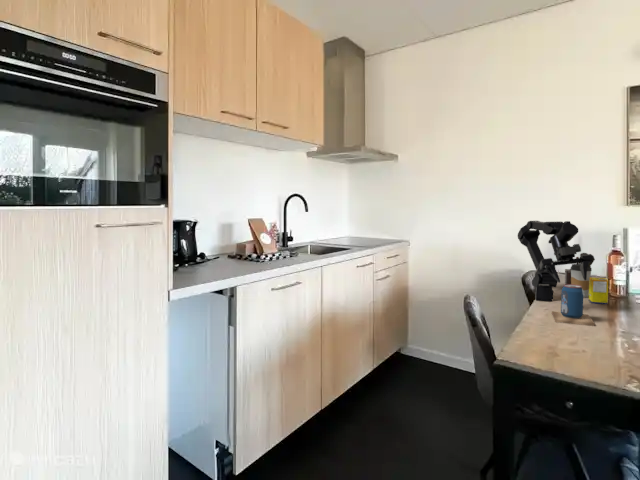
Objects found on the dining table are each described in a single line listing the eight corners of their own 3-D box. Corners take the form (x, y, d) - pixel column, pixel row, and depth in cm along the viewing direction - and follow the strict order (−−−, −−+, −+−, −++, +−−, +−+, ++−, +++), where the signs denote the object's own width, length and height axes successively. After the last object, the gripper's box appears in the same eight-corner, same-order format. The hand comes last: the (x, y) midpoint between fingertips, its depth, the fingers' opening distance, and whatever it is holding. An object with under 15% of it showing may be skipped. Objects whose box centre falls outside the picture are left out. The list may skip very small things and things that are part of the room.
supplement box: (604, 301, 168) (605, 277, 167) (607, 304, 162) (608, 280, 161) (588, 300, 170) (589, 276, 169) (591, 303, 165) (592, 279, 164)
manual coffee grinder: (592, 291, 188) (593, 255, 187) (566, 289, 194) (567, 254, 192) (587, 285, 202) (588, 252, 201) (563, 283, 207) (564, 251, 206)
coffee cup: (595, 298, 174) (596, 266, 173) (576, 298, 174) (578, 266, 173) (582, 294, 182) (584, 263, 181) (565, 294, 182) (566, 263, 181)
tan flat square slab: (555, 321, 140) (555, 319, 139) (551, 313, 150) (551, 311, 150) (594, 325, 134) (594, 323, 134) (587, 317, 145) (588, 314, 145)
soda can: (584, 316, 142) (586, 285, 141) (579, 320, 137) (580, 288, 137) (564, 313, 147) (565, 283, 146) (558, 316, 143) (559, 285, 142)
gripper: (539, 240, 154) (550, 275, 146) (591, 234, 149) (605, 270, 141) (535, 253, 163) (545, 286, 155) (584, 248, 158) (597, 281, 150)
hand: (572, 281), depth 150 cm, fingers open, 9 cm apart
